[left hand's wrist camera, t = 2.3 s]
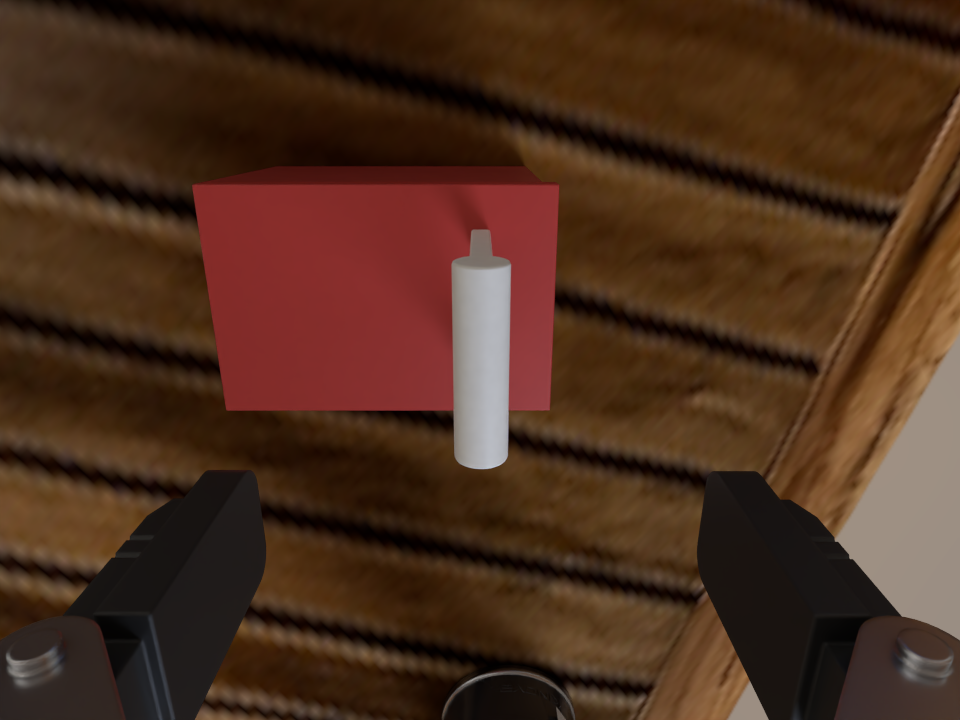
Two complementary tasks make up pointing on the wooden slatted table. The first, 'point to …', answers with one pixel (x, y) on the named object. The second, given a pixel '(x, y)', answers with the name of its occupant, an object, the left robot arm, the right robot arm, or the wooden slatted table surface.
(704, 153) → the wooden slatted table surface
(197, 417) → the wooden slatted table surface
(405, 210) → the lid
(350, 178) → the chest
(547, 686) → the left robot arm
